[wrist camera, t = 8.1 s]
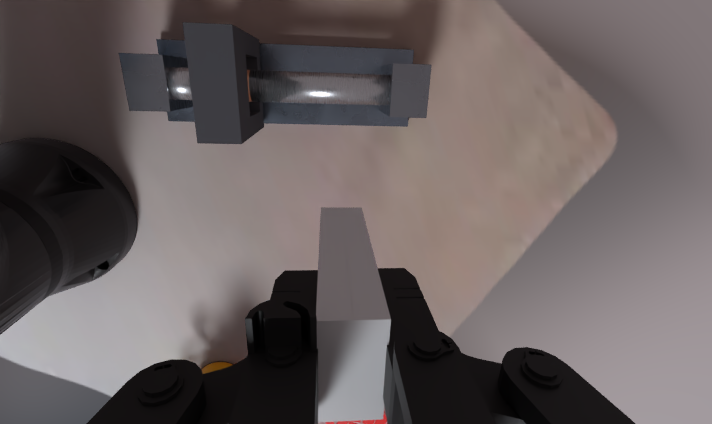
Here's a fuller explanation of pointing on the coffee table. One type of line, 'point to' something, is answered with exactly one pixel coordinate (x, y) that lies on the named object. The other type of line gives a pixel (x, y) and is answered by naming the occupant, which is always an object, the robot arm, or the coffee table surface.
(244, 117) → the dark gray notched block
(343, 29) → the coffee table surface
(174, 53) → the rail
